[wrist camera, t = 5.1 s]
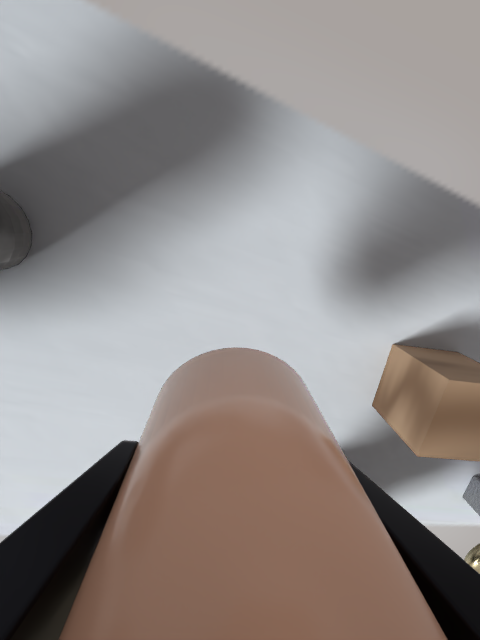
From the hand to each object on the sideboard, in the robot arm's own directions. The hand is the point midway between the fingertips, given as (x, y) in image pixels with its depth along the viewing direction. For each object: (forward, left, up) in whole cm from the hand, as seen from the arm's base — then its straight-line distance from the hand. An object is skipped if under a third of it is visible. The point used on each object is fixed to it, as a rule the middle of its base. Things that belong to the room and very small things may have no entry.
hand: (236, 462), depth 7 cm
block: (-2, -14, -11) cm, 18 cm away
